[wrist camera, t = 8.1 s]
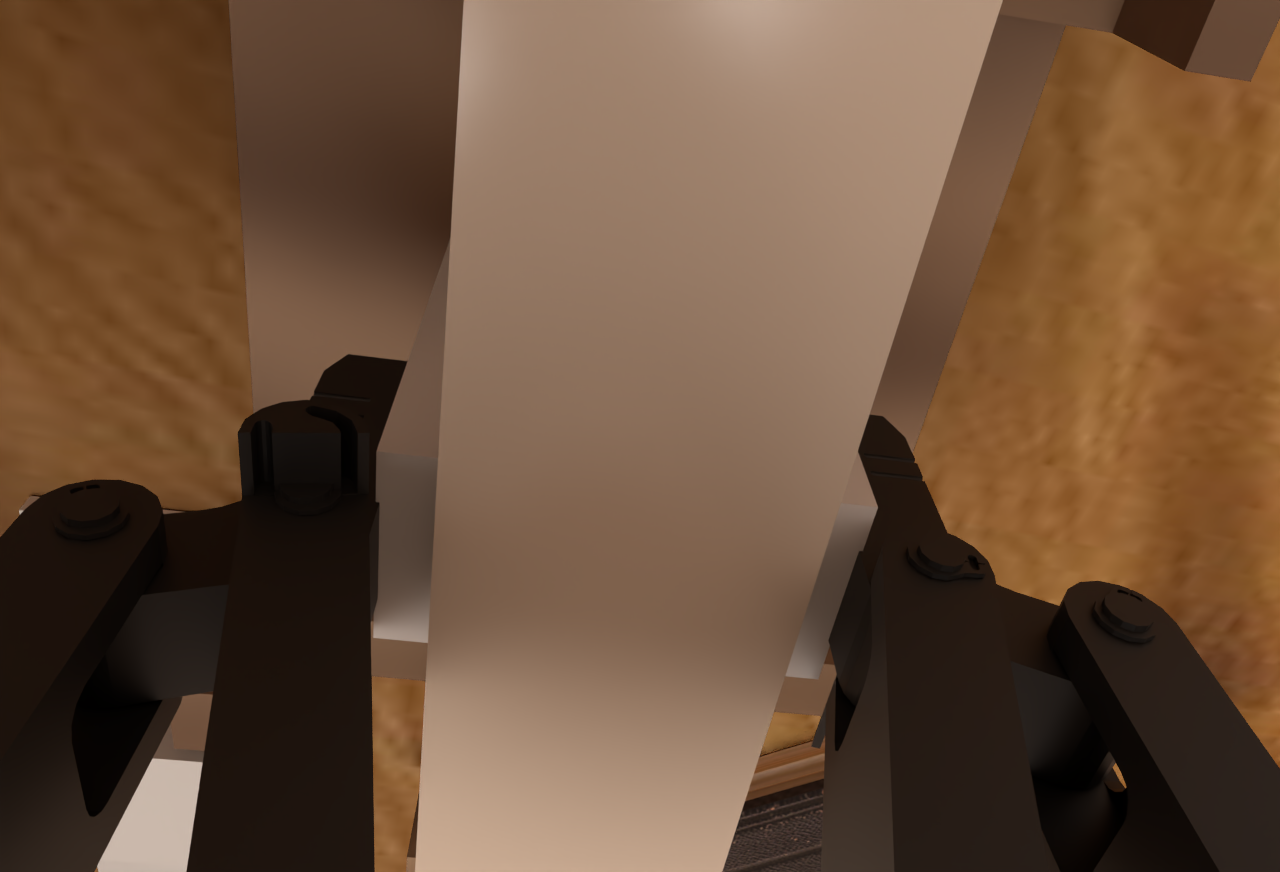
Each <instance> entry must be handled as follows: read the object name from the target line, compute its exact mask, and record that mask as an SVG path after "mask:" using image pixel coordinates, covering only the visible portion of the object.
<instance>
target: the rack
mask: <svg viewBox="0 0 1280 872" xmlns="http://www.w3.org/2000/svg"><path fill="white" fill-rule="evenodd" d="M463 5H464V0H229V17H230V33H231V50H232V66H233V83H234V99H235V116H236V132H237V148H238V165H239V181H240V198H241V214H242V231H243V247H244V264H245V280H246V297H247V313H248V329H249V346H250V362H251V379H252V395H253V412H254V413H255V412H257V411H258V410H260V409H262V408H265V407H268V406H271V405H274V404H278V403H281V402H287V401H299V400H310V399H311V397H312V396H313V395H314V390H315V388H316V386H317V384H318V382H319V380H320V378H321V376H322V374H323V372H324V370H326V369H327V368H329V367H330V366H331V365H333V364H334V363H336V362H337V361H339V360H340V359H342V358H343V357H345V356H346V355H347V354H352V355H360V356H369V357H377V358H385V359H394V360H402V361H408V359H409V356H410V353H411V350H412V347H413V344H414V342H415V339H416V336H417V333H418V330H419V327H420V324H421V321H422V318H423V316H424V313H425V310H426V307H427V304H428V301H429V298H430V295H431V293H432V290H433V287H434V284H435V281H436V278H437V275H438V272H439V269H440V267H441V264H442V261H443V258H444V255H445V252H446V249H447V246H448V244H449V241H450V237H451V219H452V202H453V184H454V166H455V148H456V130H457V112H458V94H459V76H460V59H461V41H462V23H463ZM1279 19H1280V0H1003V1H1002V4H1001V8H1000V11H999V14H998V17H997V20H996V23H995V26H994V29H993V32H992V36H991V39H990V42H989V45H988V48H987V51H986V54H985V57H984V60H983V63H982V67H981V70H980V73H979V76H978V79H977V82H976V85H975V88H974V91H973V95H972V98H971V101H970V104H969V107H968V110H967V113H966V116H965V119H964V122H963V126H962V129H961V132H960V135H959V138H958V141H957V144H956V147H955V150H954V154H953V157H952V160H951V163H950V166H949V169H948V172H947V175H946V178H945V181H944V185H943V188H942V191H941V194H940V197H939V200H938V203H937V206H936V209H935V213H934V216H933V219H932V222H931V225H930V228H929V231H928V234H927V237H926V240H925V244H924V247H923V250H922V253H921V256H920V259H919V262H918V265H917V268H916V272H915V275H914V278H913V281H912V284H911V287H910V290H909V293H908V296H907V299H906V303H905V306H904V309H903V312H902V315H901V318H900V321H899V324H898V327H897V331H896V334H895V337H894V340H893V343H892V346H891V349H890V352H889V355H888V358H887V362H886V365H885V368H884V371H883V374H882V377H881V380H880V383H879V386H878V390H877V393H876V396H875V399H874V402H873V405H872V408H871V411H870V414H869V415H878V416H883V417H884V418H885V419H887V420H888V421H889V422H890V423H891V424H892V425H893V426H894V427H895V428H896V429H897V430H898V431H899V432H900V433H901V434H902V435H903V436H905V438H906V440H907V442H908V445H909V447H910V449H911V451H912V453H913V451H914V448H915V445H916V442H917V440H918V437H919V434H920V431H921V428H922V426H923V423H924V420H925V417H926V414H927V412H928V409H929V406H930V403H931V400H932V398H933V395H934V392H935V389H936V387H937V384H938V381H939V378H940V375H941V373H942V370H943V367H944V364H945V361H946V359H947V356H948V353H949V350H950V347H951V345H952V342H953V339H954V336H955V334H956V331H957V328H958V325H959V322H960V320H961V317H962V314H963V311H964V308H965V306H966V303H967V300H968V297H969V294H970V292H971V289H972V286H973V283H974V281H975V278H976V275H977V272H978V269H979V267H980V264H981V261H982V258H983V255H984V253H985V250H986V247H987V244H988V241H989V239H990V236H991V233H992V230H993V227H994V225H995V222H996V219H997V216H998V214H999V211H1000V208H1001V205H1002V202H1003V200H1004V197H1005V194H1006V191H1007V188H1008V186H1009V183H1010V180H1011V177H1012V174H1013V172H1014V169H1015V166H1016V163H1017V161H1018V158H1019V155H1020V152H1021V149H1022V147H1023V144H1024V141H1025V138H1026V135H1027V133H1028V130H1029V127H1030V124H1031V121H1032V119H1033V116H1034V113H1035V110H1036V108H1037V105H1038V102H1039V99H1040V96H1041V94H1042V91H1043V88H1044V85H1045V82H1046V80H1047V77H1048V74H1049V71H1050V68H1051V66H1052V63H1053V60H1054V57H1055V55H1056V52H1057V49H1058V46H1059V43H1060V41H1061V38H1062V35H1063V32H1064V29H1065V27H1066V25H1068V26H1074V27H1080V28H1086V29H1092V30H1098V31H1104V32H1110V33H1114V34H1115V35H1117V36H1119V37H1121V38H1123V39H1125V40H1127V41H1129V42H1131V43H1133V44H1134V45H1136V46H1138V47H1140V48H1142V49H1144V50H1146V51H1148V52H1150V53H1152V54H1154V55H1155V56H1157V57H1159V58H1161V59H1163V60H1165V61H1167V62H1169V63H1171V64H1173V65H1174V66H1176V67H1178V68H1180V69H1182V70H1184V71H1188V72H1195V73H1201V74H1207V75H1213V76H1219V77H1226V78H1232V79H1238V80H1244V81H1251V79H1252V77H1253V75H1254V73H1255V71H1256V69H1257V66H1258V64H1259V62H1260V60H1261V58H1262V56H1263V53H1264V51H1265V49H1266V47H1267V45H1268V43H1269V41H1270V38H1271V36H1272V34H1273V32H1274V30H1275V28H1276V25H1277V23H1278V21H1279ZM373 628H374V614H373V617H372V621H371V675H372V676H376V677H388V678H399V679H410V680H422V681H426V666H427V648H428V643H423V642H412V641H401V640H391V639H380V638H373ZM836 675H837V673H836V669H835V665H834V661H833V657H832V653H831V649H830V647H829V650H828V653H827V656H826V659H825V661H824V664H823V667H822V670H821V673H820V676H819V679H808V678H798V677H787V676H785V678H784V681H783V685H782V688H781V691H780V694H779V697H778V700H777V703H776V706H775V709H774V712H783V713H794V714H805V715H817V716H822V714H823V711H824V708H825V705H826V703H827V700H828V697H829V694H830V691H831V689H832V686H833V683H834V680H835V678H836ZM212 696H213V692H206V693H200V694H194V695H188V696H183V697H182V701H181V704H180V706H179V708H178V710H177V712H176V714H175V716H174V718H173V720H172V722H171V730H172V737H173V744H174V749H186V750H199V751H204V750H205V743H206V737H207V730H208V723H209V716H210V710H211V703H212ZM418 809H419V796H418V801H417V807H416V812H415V817H414V823H413V828H412V833H411V839H410V844H409V849H408V855H407V868H406V872H415V863H416V845H417V827H418Z"/></svg>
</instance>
